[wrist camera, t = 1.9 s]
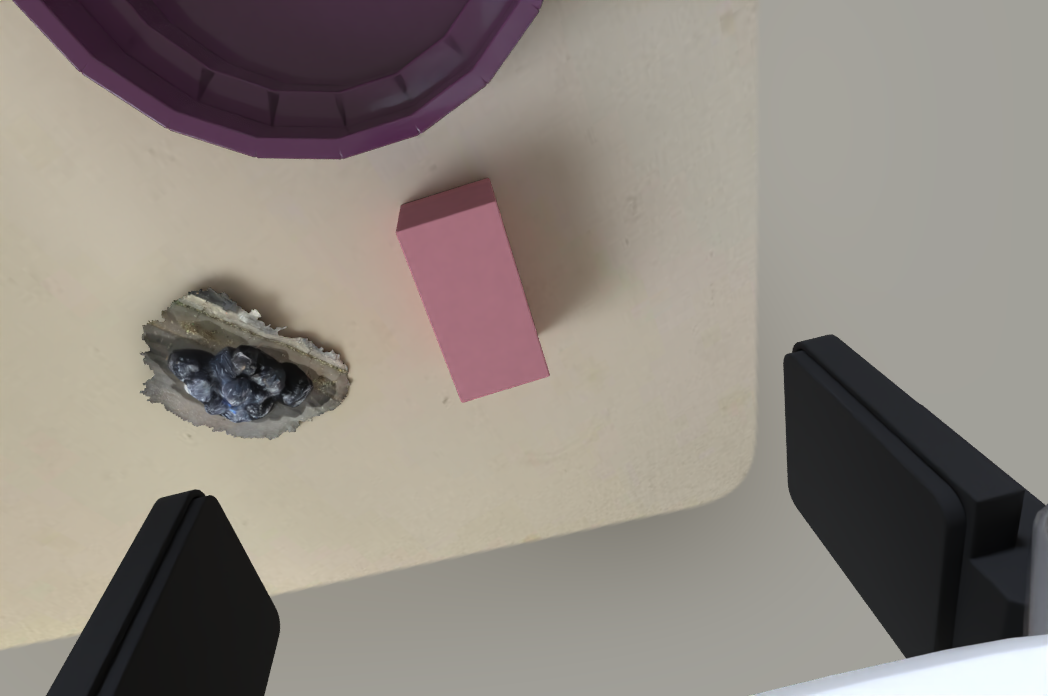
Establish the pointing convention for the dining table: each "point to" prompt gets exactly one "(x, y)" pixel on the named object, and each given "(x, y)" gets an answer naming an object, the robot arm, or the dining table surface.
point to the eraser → (471, 289)
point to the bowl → (288, 65)
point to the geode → (237, 369)
